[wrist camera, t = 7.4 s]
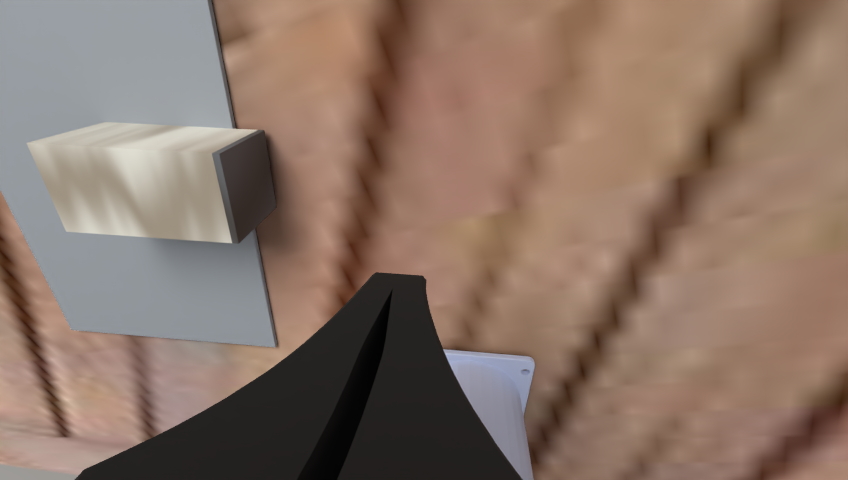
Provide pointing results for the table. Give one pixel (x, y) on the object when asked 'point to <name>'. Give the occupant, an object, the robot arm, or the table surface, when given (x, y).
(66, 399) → the table surface
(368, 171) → the table surface
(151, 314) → the mat
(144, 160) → the birch block
